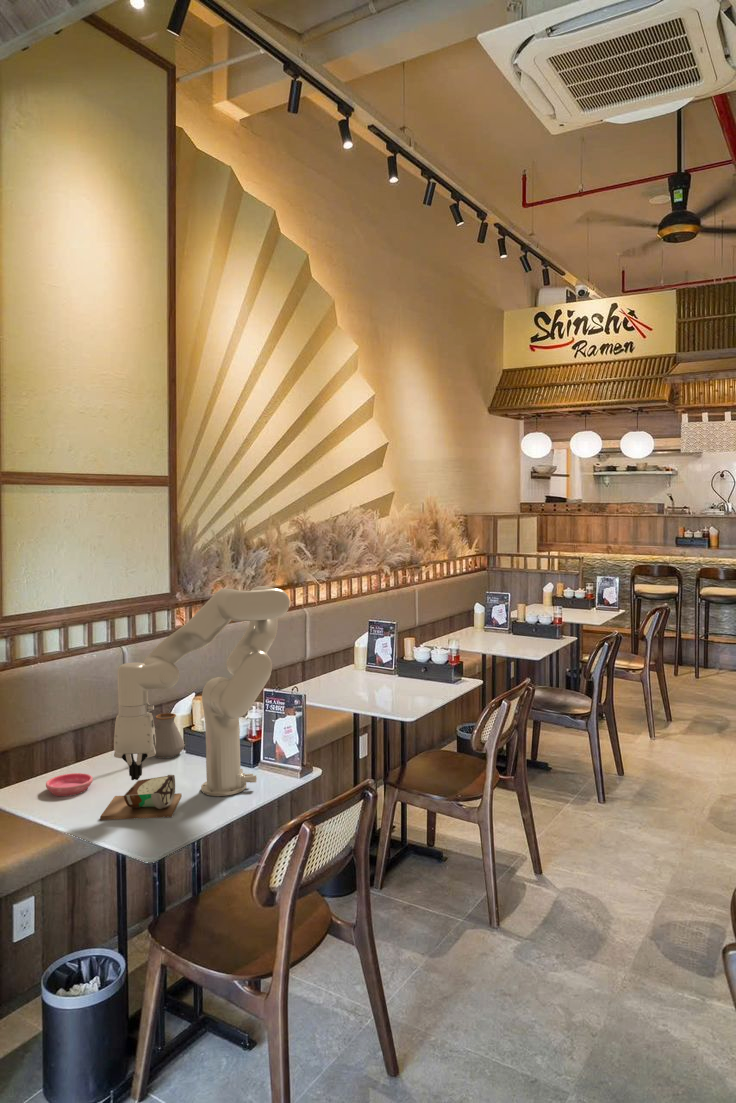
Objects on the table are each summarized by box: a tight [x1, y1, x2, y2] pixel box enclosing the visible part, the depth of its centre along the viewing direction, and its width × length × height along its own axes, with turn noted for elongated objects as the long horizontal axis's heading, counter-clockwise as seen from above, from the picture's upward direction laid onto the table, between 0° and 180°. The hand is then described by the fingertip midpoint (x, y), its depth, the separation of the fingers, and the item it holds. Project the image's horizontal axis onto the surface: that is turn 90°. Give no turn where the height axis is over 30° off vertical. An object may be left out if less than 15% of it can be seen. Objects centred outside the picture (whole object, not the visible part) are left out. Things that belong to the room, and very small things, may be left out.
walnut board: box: [100, 792, 182, 821], centre depth 201 cm, size 18×14×1 cm
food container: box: [123, 774, 176, 809], centre depth 199 cm, size 12×6×10 cm
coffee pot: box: [154, 712, 186, 759], centre depth 242 cm, size 21×12×15 cm, turn 138°
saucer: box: [45, 772, 94, 797], centre depth 215 cm, size 12×12×3 cm
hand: (135, 778), depth 200 cm, fingers closed
